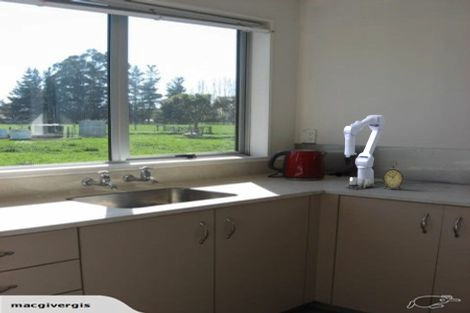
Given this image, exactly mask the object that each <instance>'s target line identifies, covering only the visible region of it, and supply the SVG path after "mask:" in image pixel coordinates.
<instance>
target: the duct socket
mask: <svg viewBox="0 0 470 313" xmlns="http://www.w3.org/2000/svg"><path fill="white" fill-rule="evenodd" d="M357 178H358V177H357ZM374 184H375V180H373V179H372V178H365V179H361V178H358V181H357V186H349V184H345V189H348V190H362V189H365V188H370V187H371V188H372V187H374Z"/></svg>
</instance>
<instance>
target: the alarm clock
mask: <svg viewBox="0 0 470 313" xmlns="http://www.w3.org/2000/svg"><path fill="white" fill-rule="evenodd" d="M393 162H395V165H392V163H393ZM397 164H398V163H397V161H396V160H391V162H390V166H391V168H388V169H386V170H385V171H384V172H383V174H382V182H383V184H384V185H385V187H384V190H385V189H386V188H391V189H395V188H396V189H397V188H398V189H399V190H400V191H402V188H401V185H402V184H403V182H404V173H403V172H402V171H401V170H400V169H398V168H396V166H397Z"/></svg>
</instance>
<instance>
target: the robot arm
mask: <svg viewBox="0 0 470 313" xmlns="http://www.w3.org/2000/svg"><path fill="white" fill-rule="evenodd" d="M385 124H386V117H385V115H384V114H369V115H367V116H366V117H365V118H364V119H363V120H356V121H355V122H354V123H351V124H350V125H346V126H345V127H344V128H343V130H342V131H343V135H344V138H345V139H344V154H343V155H345V156H343V157H342V159H343V161H344V165H345V170H350V169H351V168H353V166H354V163H355V166H356V168H357V178H361V179H365V178H372V179H373V181H375V180H374V176H375V173H374V172H375V171H374V170H373V168H372V167H373V166H374V160H375V157H374V156H373V153H374V151H375V148H376V146H377V144H378V141H379V139H380V137H381V134H382V131H383V129H384V126H385ZM365 126H368V127H369V129H370V130H371V131H372V132H371V134H370V135H369V138H368V141H367V142H366V146H365V148H364V150H363V152H361V153H359V154H358V156H357V157H356V155H357V152H355V148H356V136H357V134H358V132H360V131H361V130H363V129H364V128H365ZM354 161H355V162H354Z"/></svg>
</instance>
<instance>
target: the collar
mask: <svg viewBox="0 0 470 313" xmlns="http://www.w3.org/2000/svg"><path fill="white" fill-rule="evenodd" d="M357 181H358V177H352V176H351V177H349V186H357Z"/></svg>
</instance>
